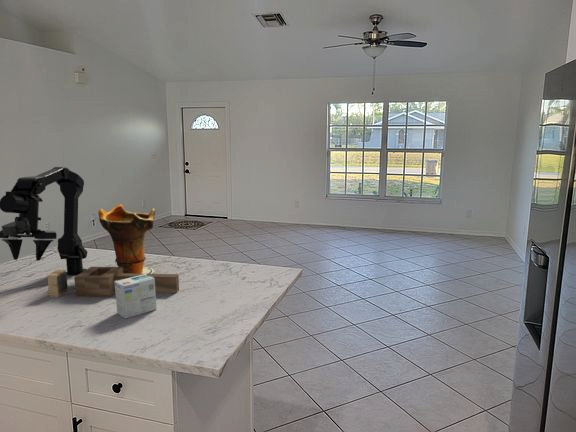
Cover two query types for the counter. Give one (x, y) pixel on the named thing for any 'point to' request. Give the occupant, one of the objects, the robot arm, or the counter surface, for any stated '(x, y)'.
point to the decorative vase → (128, 237)
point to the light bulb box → (135, 295)
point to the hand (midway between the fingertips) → (26, 260)
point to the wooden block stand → (103, 278)
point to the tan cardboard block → (57, 283)
